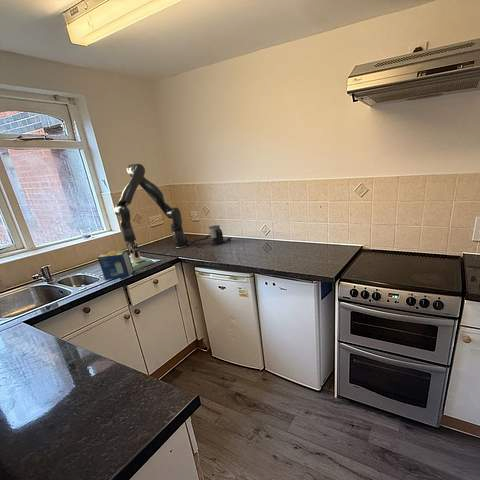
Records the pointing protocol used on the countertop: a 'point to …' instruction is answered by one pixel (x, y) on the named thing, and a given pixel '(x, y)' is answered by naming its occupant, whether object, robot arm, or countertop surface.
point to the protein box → (115, 264)
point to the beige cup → (135, 257)
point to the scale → (140, 262)
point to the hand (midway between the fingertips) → (135, 256)
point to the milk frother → (217, 235)
